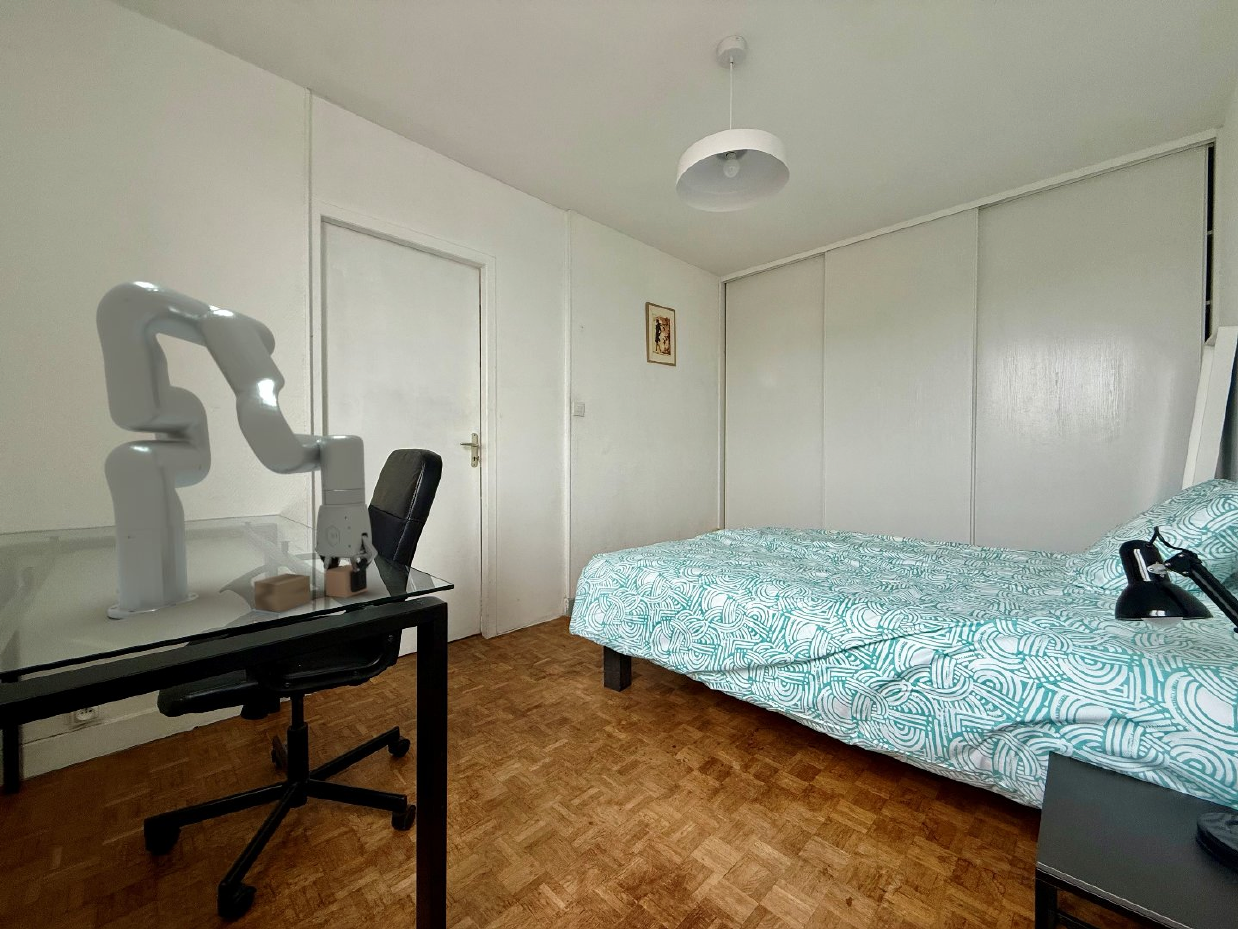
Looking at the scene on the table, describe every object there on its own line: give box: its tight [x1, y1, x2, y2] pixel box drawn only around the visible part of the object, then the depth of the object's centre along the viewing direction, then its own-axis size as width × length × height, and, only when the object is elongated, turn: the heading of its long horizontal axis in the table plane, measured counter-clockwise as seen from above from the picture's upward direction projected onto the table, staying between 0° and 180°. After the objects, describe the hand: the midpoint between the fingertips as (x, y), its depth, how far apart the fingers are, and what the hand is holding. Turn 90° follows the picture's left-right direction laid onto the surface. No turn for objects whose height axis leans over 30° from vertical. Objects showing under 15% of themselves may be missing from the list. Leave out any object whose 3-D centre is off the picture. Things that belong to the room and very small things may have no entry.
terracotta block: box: [325, 564, 368, 599], centre depth 99 cm, size 5×5×6 cm
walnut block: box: [253, 573, 312, 613], centre depth 91 cm, size 6×6×5 cm
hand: (346, 587), depth 99 cm, fingers open, 5 cm apart
